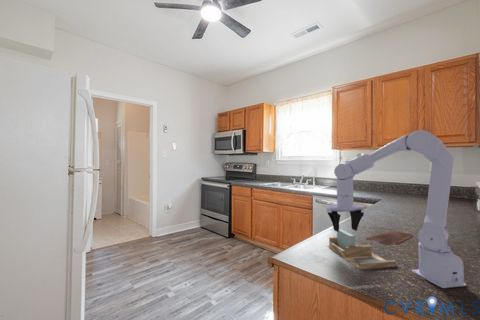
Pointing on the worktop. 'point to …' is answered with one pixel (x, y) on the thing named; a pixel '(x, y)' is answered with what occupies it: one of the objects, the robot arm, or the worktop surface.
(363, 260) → the felt pad
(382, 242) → the wooden tablet
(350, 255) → the rack
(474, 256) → the worktop surface
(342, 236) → the panel
